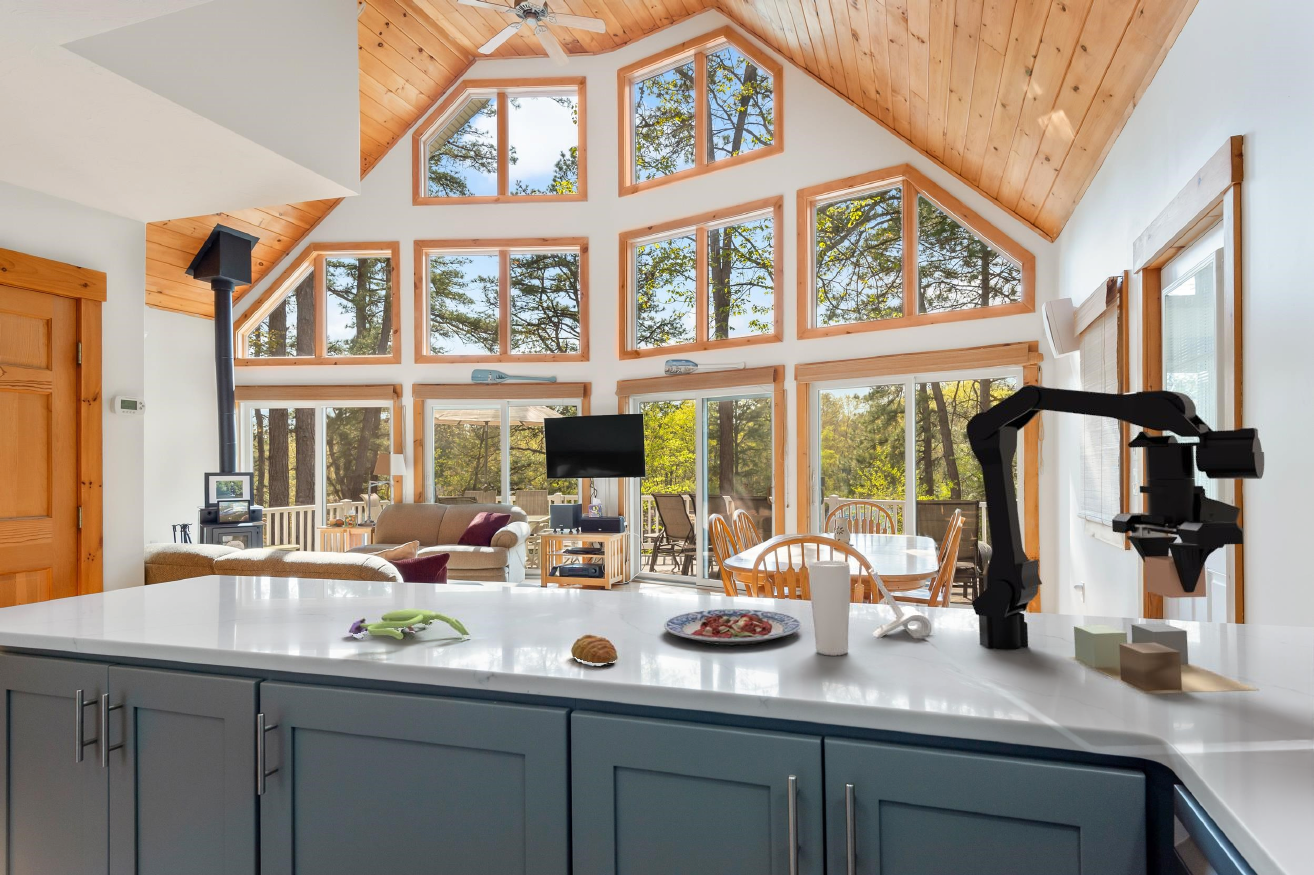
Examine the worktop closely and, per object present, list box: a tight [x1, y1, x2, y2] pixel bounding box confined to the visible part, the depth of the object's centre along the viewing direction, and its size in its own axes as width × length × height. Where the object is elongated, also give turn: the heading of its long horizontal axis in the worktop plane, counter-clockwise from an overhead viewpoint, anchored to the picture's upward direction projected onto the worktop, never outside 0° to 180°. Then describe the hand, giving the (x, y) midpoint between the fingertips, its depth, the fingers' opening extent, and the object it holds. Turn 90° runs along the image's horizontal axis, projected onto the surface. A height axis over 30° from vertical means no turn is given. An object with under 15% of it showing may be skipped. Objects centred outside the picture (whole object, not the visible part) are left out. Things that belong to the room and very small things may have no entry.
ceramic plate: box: [663, 608, 802, 645], centre depth 141 cm, size 26×26×3 cm
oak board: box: [1068, 656, 1259, 695], centre depth 107 cm, size 15×18×1 cm
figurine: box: [348, 608, 470, 640], centre depth 145 cm, size 18×27×6 cm
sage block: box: [1073, 624, 1128, 668], centre depth 113 cm, size 5×5×5 cm
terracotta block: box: [1144, 555, 1207, 599], centre depth 105 cm, size 5×5×5 cm
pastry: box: [570, 634, 619, 663], centre depth 124 cm, size 9×7×4 cm
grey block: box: [1130, 622, 1189, 665], centre depth 113 cm, size 5×5×5 cm
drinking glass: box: [808, 560, 851, 657], centre depth 126 cm, size 7×7×15 cm
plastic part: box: [868, 567, 932, 639], centre depth 138 cm, size 8×10×12 cm
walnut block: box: [1119, 642, 1182, 691], centre depth 102 cm, size 5×5×5 cm
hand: (1175, 589), depth 105 cm, fingers closed on terracotta block, 5 cm apart
